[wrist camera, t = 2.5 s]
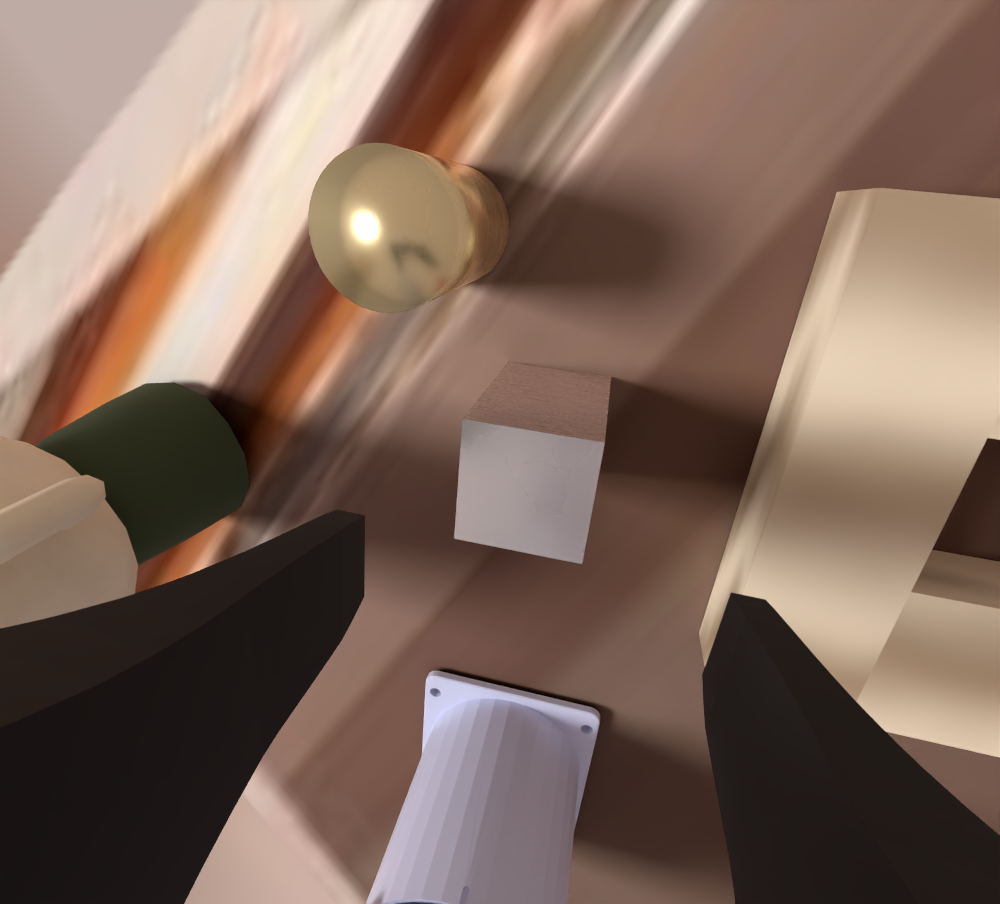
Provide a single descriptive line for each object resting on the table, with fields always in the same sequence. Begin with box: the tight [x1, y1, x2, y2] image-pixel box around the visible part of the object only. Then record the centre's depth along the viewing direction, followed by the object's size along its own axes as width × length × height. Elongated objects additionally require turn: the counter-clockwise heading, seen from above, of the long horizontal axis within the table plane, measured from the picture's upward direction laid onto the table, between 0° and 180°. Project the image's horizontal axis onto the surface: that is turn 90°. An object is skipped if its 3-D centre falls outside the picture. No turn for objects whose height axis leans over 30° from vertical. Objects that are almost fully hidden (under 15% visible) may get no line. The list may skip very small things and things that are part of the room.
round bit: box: [308, 143, 509, 313], centre depth 15 cm, size 4×4×6 cm
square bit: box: [454, 362, 611, 564], centre depth 17 cm, size 4×4×6 cm
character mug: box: [0, 383, 250, 628], centre depth 18 cm, size 11×7×13 cm, turn 122°
